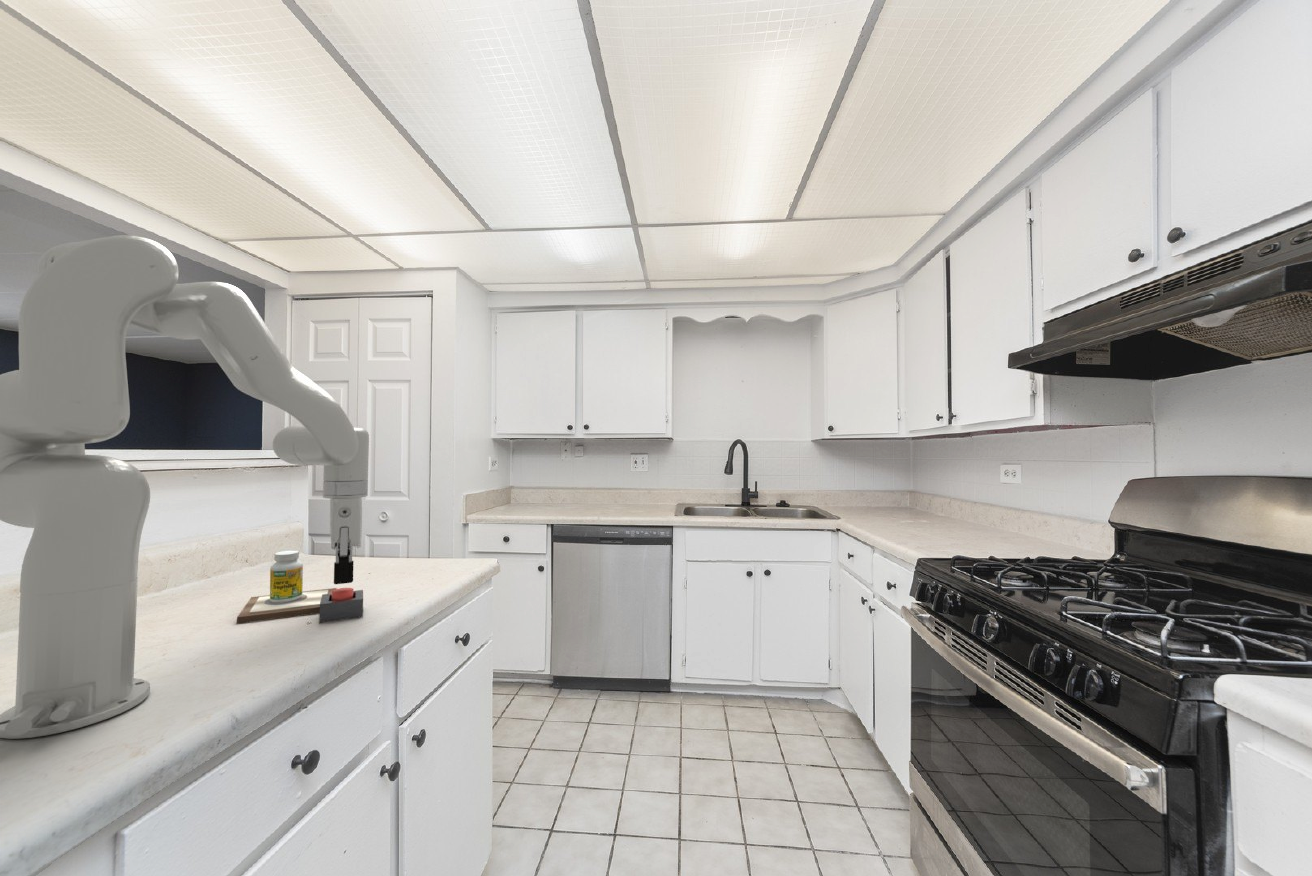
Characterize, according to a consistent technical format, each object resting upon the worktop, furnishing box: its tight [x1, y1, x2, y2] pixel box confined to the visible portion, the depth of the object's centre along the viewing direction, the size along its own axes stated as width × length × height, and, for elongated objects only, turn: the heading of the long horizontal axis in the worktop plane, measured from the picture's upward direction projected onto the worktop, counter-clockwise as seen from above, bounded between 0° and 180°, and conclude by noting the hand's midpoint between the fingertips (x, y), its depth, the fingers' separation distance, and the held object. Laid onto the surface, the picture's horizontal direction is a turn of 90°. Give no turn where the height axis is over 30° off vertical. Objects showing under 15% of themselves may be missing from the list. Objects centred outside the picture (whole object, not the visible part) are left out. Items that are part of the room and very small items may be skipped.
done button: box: [332, 587, 354, 601], centre depth 97 cm, size 4×4×2 cm
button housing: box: [318, 589, 364, 624], centre depth 97 cm, size 7×7×4 cm
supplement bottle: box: [269, 550, 304, 603], centre depth 101 cm, size 5×5×10 cm
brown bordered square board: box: [236, 587, 338, 624], centre depth 101 cm, size 14×15×2 cm
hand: (343, 582), depth 98 cm, fingers closed
